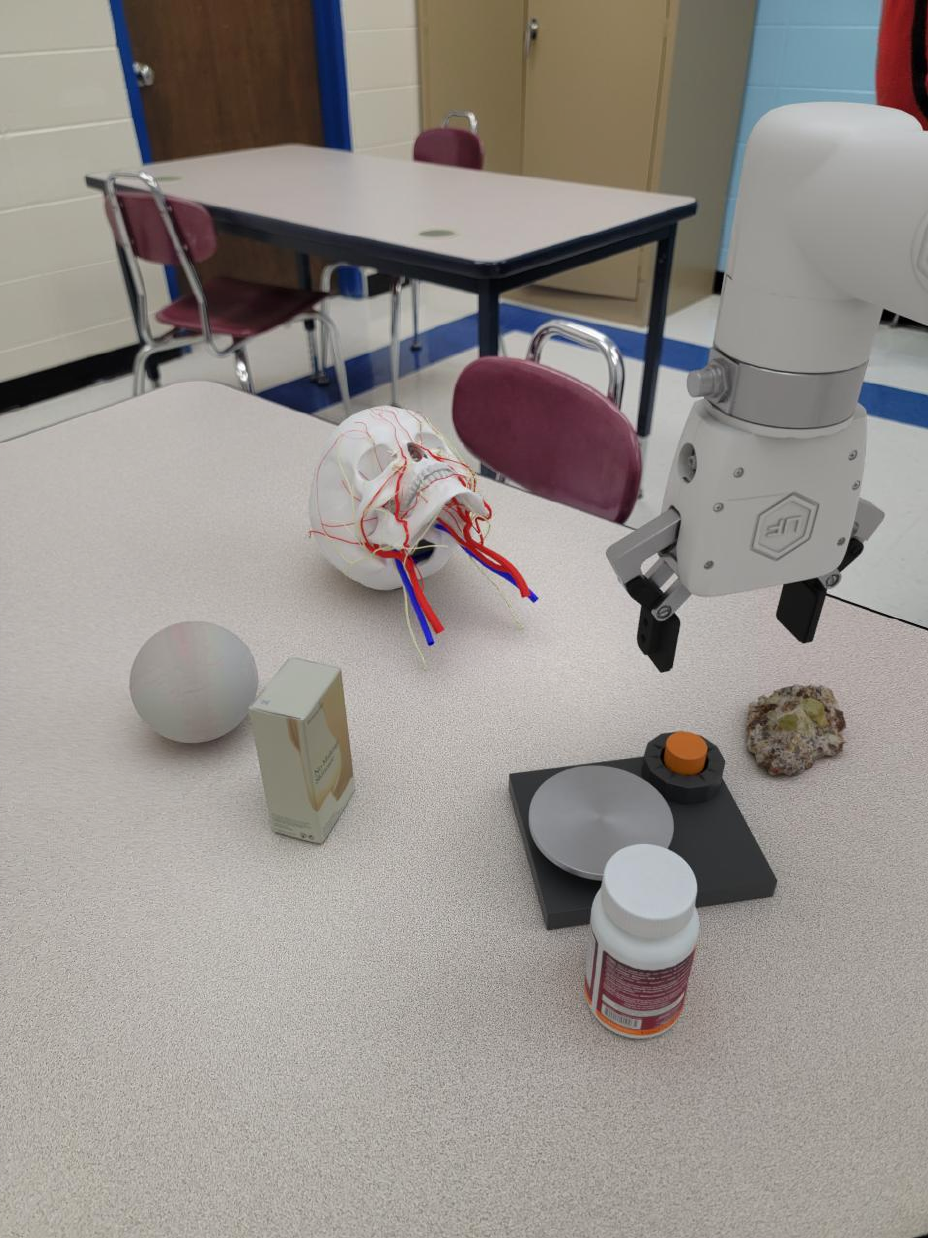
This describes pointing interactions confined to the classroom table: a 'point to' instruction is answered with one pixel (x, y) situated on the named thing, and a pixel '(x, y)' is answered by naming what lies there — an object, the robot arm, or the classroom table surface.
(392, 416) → the anatomical skull model
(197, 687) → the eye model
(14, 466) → the classroom table surface
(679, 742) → the tare button
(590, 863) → the weighing pan
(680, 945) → the pill bottle
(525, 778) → the scale
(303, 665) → the cosmetic box
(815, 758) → the mineral rock
